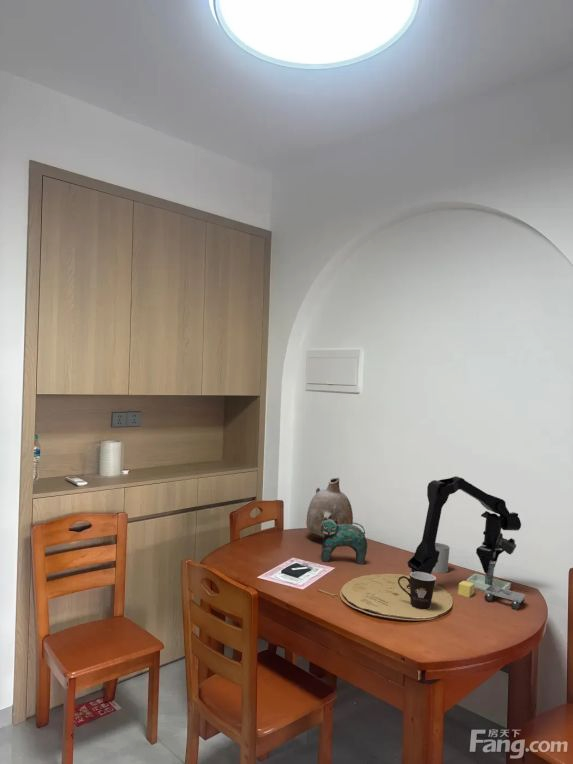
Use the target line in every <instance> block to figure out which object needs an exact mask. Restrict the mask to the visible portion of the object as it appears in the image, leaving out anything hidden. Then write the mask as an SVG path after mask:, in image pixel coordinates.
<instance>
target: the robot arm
mask: <svg viewBox="0 0 573 764" xmlns="http://www.w3.org/2000/svg"><path fill="white" fill-rule="evenodd" d="M459 490H460V491H462V492H464V493H465V494H467V495H469V496H470V497H472V498H473V499H475V500H476V501H478V502H479V503H480V504H481V506H483V508H485V509H486V510H485V511H484V512H483V513H481V515H480V517H482V518H485V523H484V524H485V527H484V531H483V533H482V534H483V535H484V538H483V542H482V543H481V544H482V545H480V546H478V547H476V550H475V551H476V553H475V554H476V556H478V559H479V562H480V565H481V566H482V569H483V573H484V574H486V573H488V570H489V566H490V562H491V560H494V561H496V564H497V562H498V559H499V556H500V554H503V553H504V552H505V553H506V554H508V555H512V554H513V553H514V552H515V549H516V548H517V544H516V540H515V539H514V538H512V537H510V538H509V539H507V538H504V535H503V533H502V530H503V531H515V532H516V531H518V532H519V531H520V529H521V527H522V521H521V519H520V517H519V513H517V512H514V511H512V512H510V511H509V509H508V508H507V506H506V505H507V504H506V501H505V499H502V498H500V497H497V496H495V495H492V494H489V493H487V492H485V491H483V490H482V489H480V488H478V487H476V486H475V485H473V484H472V483H470V482H468V481H467V480H465V478H463V477H459V476H458V475H457V476H456V475H455V476H453V477H449V478H442V479H439V480H436V479H434V480H431V481H430V482H428V484H427V492H426V496H427V500H428V508H427V512H426V518H425V522H424V523H425V524H424V528H423V534H422V539H421V542H420V543H419V544H418V545H417V547H416V548H415V549H416V550H415V551H414V555H413V556H412V557H411V558H410V559H409V560H408V561H407V562H406V563H407V567H408V568H410V569H411V571H410V573H411V572H424V573H428V574H431V575H432V570H433V568H434V567H435V566H436V562H437V563H438V557H439V551H438V550H436V548H435V543H437V542H436V541H437V535H438V530H439V525H440V519H441V514H442V509H443V507H444V506H445V504H446V503H447V502H448V500H449V496H450V495H452V494H455V493H456V492H458V491H459ZM487 510H488V511H487ZM491 512H493V513H491ZM496 564H494V569H495V567H496ZM408 587H410V585H409V584H407V585H406V588H408Z"/></svg>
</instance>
